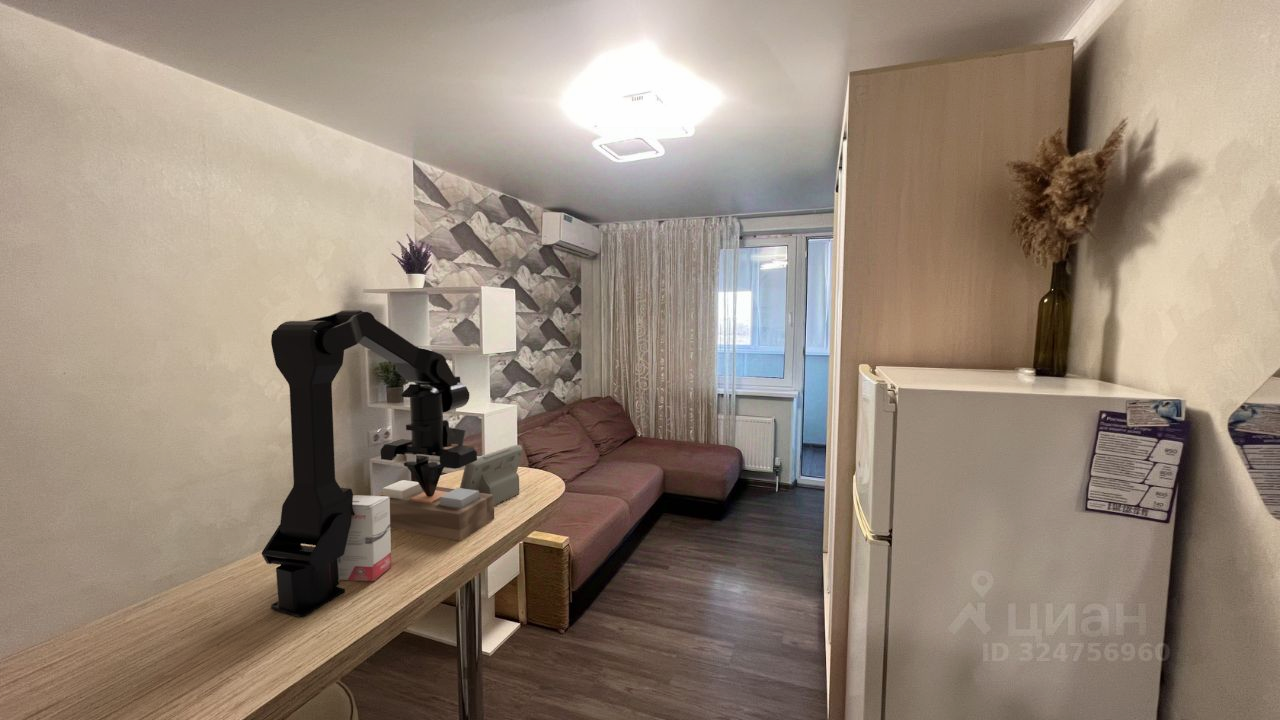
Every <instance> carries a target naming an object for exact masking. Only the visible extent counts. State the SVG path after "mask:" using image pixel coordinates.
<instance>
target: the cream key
mask: <svg viewBox="0 0 1280 720" xmlns="http://www.w3.org/2000/svg"><path fill="white" fill-rule="evenodd" d="M420 491H422V488H421V486H420V484H419V483H418V481H412V480H404V479H402V480H399V481H397V482H394V483H391V484H389V485H386V486H384V487H382V492H383V496H388V497H391V498H397V499H405V498H407V497H409V496H411V495H413V494H415V493H418V492H420Z"/></svg>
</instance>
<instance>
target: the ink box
mask: <svg viewBox="0 0 1280 720" xmlns="http://www.w3.org/2000/svg"><path fill="white" fill-rule="evenodd" d="M352 506H353V511H354V513H355V515H354V516H351V526H350V529H349V533H348V538H347V543H346V547H345V552H344V555H343V556H341V557H339V558H338V559H337V560H338V575H339V581H357V582H358V581H359V582H360V581H361V582H374V581H376V580H377V579H378V578H379V577H380V576H381V575H383V574H384V573H385V572H386V571H387V570H389V569H390V568H391V567H392V551H391V550H392V546H391V543H392V542H391V540H392V539H391V528H390V497H388V496H375V495H360V494H358V495H357V494H353V501H352Z"/></svg>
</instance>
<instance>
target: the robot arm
mask: <svg viewBox="0 0 1280 720" xmlns="http://www.w3.org/2000/svg"><path fill="white" fill-rule="evenodd" d="M270 342H271V349H272V353H273V358H274V363H275V366H276V367H277V369H278V371H279V372H280V373H281V375H282V376H283V378H284V379H285V381H286V382H287V383H288V387H289V402H290V403H289V404H290V405H289V406H290V425H291V426H290V429H291V430H290V431H291V449H292V451H291V453H292V471H293V474H292V475H293V486H292V488H291V489H290V492H289V493H288V495H287V496H286V498H285V499H284V502H283V503H282V506H281V515H280V523H279V525H278V526H277V528H276V530H275V531H274V532H273V534H272V536H271V537H270V539H269V540H268V542H267V543H266V545H265V546H264V548H263V550H262V551H261V556H262V558H263V559H264V561H265V563H266V564H268V565H273V564H274V565H279V566H277V567H276V568H275V572H276V587H277V588H276V589H277V599H278V600H277V601H275V602H273V603H271V604H270V609H271V610H275V611H277V612H280V613H285V614H287V615H290V616H295V617H298V618H305V617H307V616H308V615H310V614H312V613H313V612H315V611H317V610H319V609H320V608H322V607H323V606H326V605H327V604H328V603H330V602H332V601H334V600H335V599H337V598H338V597H340V596H342V595H344V594H345V593H346V589H345V588H344V587H339V584H340V580H339V575H338V560H337V559H338V558H339V557H341V556H343V555H344V552H345V547H346V543H347V538H348V533H349V529H350V526H351V516H354V515H355V513H354V511H353V506H352V501H353V495H354V494H353V490H352V488H350V487H349V488H348V487H347V488H346V487H340V485H339V483H338V482H337V480H336V470H335V469H336V467H335V465H336V464H335V439H334V415H333V414H334V413H333V411H334V410H333V390H332V389H333V387H332V386H333V381H334V380H335V378H336V377H337V375H338V374H339V371H340V369H341V368H342V367H343V364H344V356H345V355H344V354H345V351H346V350H347V349H350V348H352V347H355V346H356V345H358V344H359V345H361V346H363V347H364V348H366V349H368V350H369V351H371V352H373V353H374V354H376V355H378V356H379V357H382V358H383V359H384V360H387V361H388V362H390V363H392V364H393V365H394V366H395V370H396V373H397V374H398V375H400V377H402V378H403V379H404V380H405V381H406V382H409V383H410V384H408V386H407V388H406V389H405V390H403V392H402V393H401V397H402V398H405V399H406V398H408V399H409V408H410V423H408V424H405V431H411V439H405V438H400V439H398V440H395V441H391V442H387V443H385V444H383V446H382V447H381V449H380V460H386V461H394V460H395V459H396V458H397V455H402V456H404V455H405V456H406V462H404V463H403V467H406V468H407V469H408V470H409V472H410V473H411V474H412V475H413V477H414V478H415V480H416V482H418V483H419V484H420V486H421V488H422V489H423V491H424V492H425V494H426V496H432V495H434V493H435V490H436V487H438V484H439V481H440V477H441V475H442V473H443V471H444V468H448V469H455V470H456V469H460V468H462V467H465V465H467V464H470V463H472V462H474V461H476V460H477V457H478V452H477V449H476V448H475V447H474V446H470V445H464V440H465V434H466V430H465V429H460V428H454V427H450V422H449V421H448V420H447V419H446V420H445V419H444V413H447V412H451V411H455V410H457V409H459V408H460V409H461V408H462V407H465V406H466V405H467V404H468V402H469V400H470V392H469V389H468V387H467V386H466V385H465V384H464V383H463V382H461V377H460V376H455V375H454V373H453V371H452V370H451V368H450V366H449V364H448V362H447V358H446V357H445V356H444V355H443V354H442V353H441V352H438V351H435V350H432V349H429V348H425V347H421V346H417V345H415V344H413V343H412V342H410V341H409V340H407V339H405V338H404V337H403V336H401V335H400V334H398V333H397V332H396V331H394V330H393V329H391V328H390V327H389V326H387V325H385V324H384V323H382V322H381V321H380V320H378V319H376V318H375V316H374V315H373V313H371V312H370V311H367V310H363V309H361V310H360V309H359V310H356V309H355V310H345V309H344V310H341V311H338V312H335V313H332V314H330V315H326V316H322V317H321V316H320V317H317V318H312V319H308V320H287V321H285V322H282V323H281V324H279V326H277V327H276V329H274V330H273V331H272V333H271V339H270ZM453 444H454V445H456V446H453V447H451V446H452V445H453ZM448 447H451V448H448ZM445 448H447V449H445Z"/></svg>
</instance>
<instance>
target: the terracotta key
mask: <svg viewBox="0 0 1280 720" xmlns="http://www.w3.org/2000/svg"><path fill="white" fill-rule="evenodd" d="M446 493H448V492H443V491H437V490H435V493H434V495H432V496H426V494H425V492H423V493H421V494H419V495H417V496H415V497H413V498H411V501H416V502H422V503H429V504H433V503H435V502H437V501H439V500H440V496H442V495H444V494H446Z"/></svg>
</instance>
